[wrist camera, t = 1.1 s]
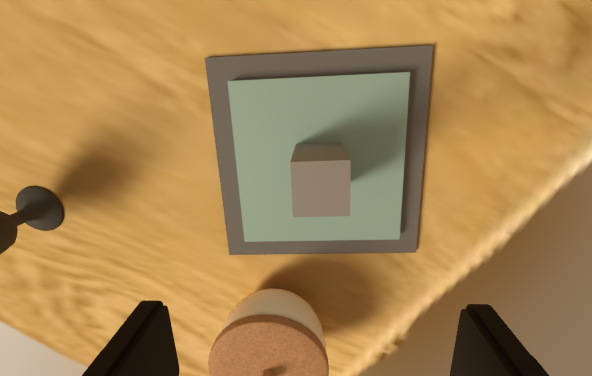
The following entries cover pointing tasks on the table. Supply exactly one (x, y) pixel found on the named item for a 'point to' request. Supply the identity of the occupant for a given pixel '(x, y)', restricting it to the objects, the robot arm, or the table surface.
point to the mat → (315, 66)
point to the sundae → (30, 214)
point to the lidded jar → (270, 338)
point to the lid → (320, 156)
